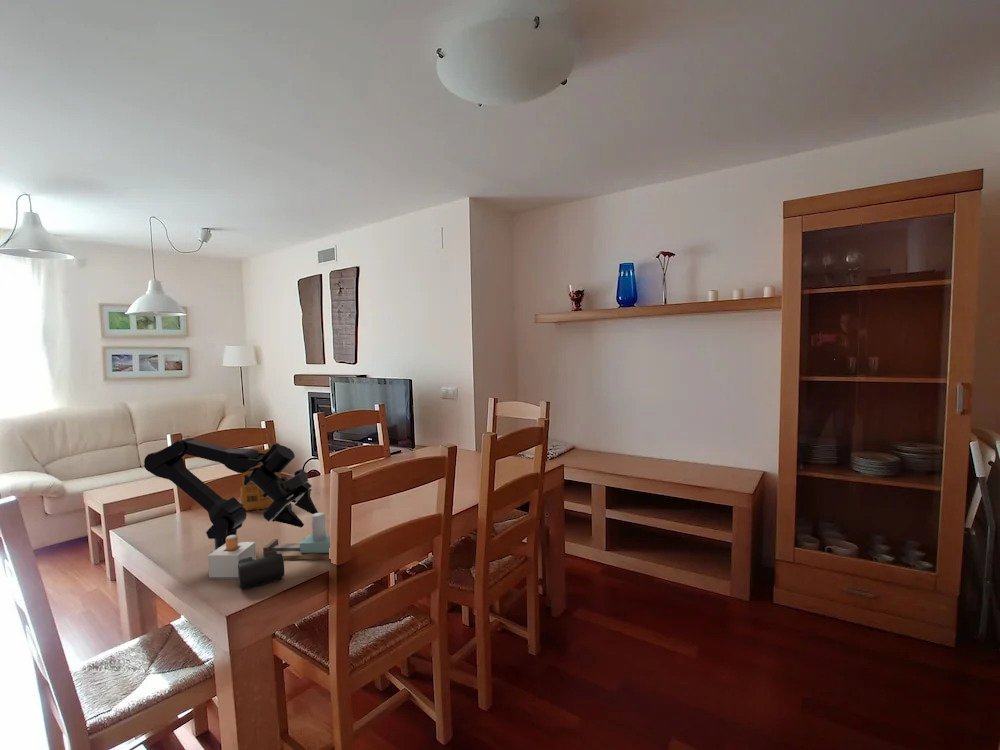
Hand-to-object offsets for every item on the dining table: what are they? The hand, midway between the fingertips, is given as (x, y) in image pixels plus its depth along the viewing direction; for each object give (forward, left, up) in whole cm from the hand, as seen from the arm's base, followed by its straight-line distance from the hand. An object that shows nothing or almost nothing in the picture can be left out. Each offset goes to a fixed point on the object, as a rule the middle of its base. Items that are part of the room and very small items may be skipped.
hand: (310, 519), depth 134 cm
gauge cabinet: (-6, -19, -10) cm, 22 cm away
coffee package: (-54, +6, -10) cm, 56 cm away
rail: (-1, -1, -10) cm, 10 cm away
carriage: (+2, +2, -8) cm, 9 cm away
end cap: (+7, -16, -10) cm, 20 cm away
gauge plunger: (-6, -19, -4) cm, 20 cm away
